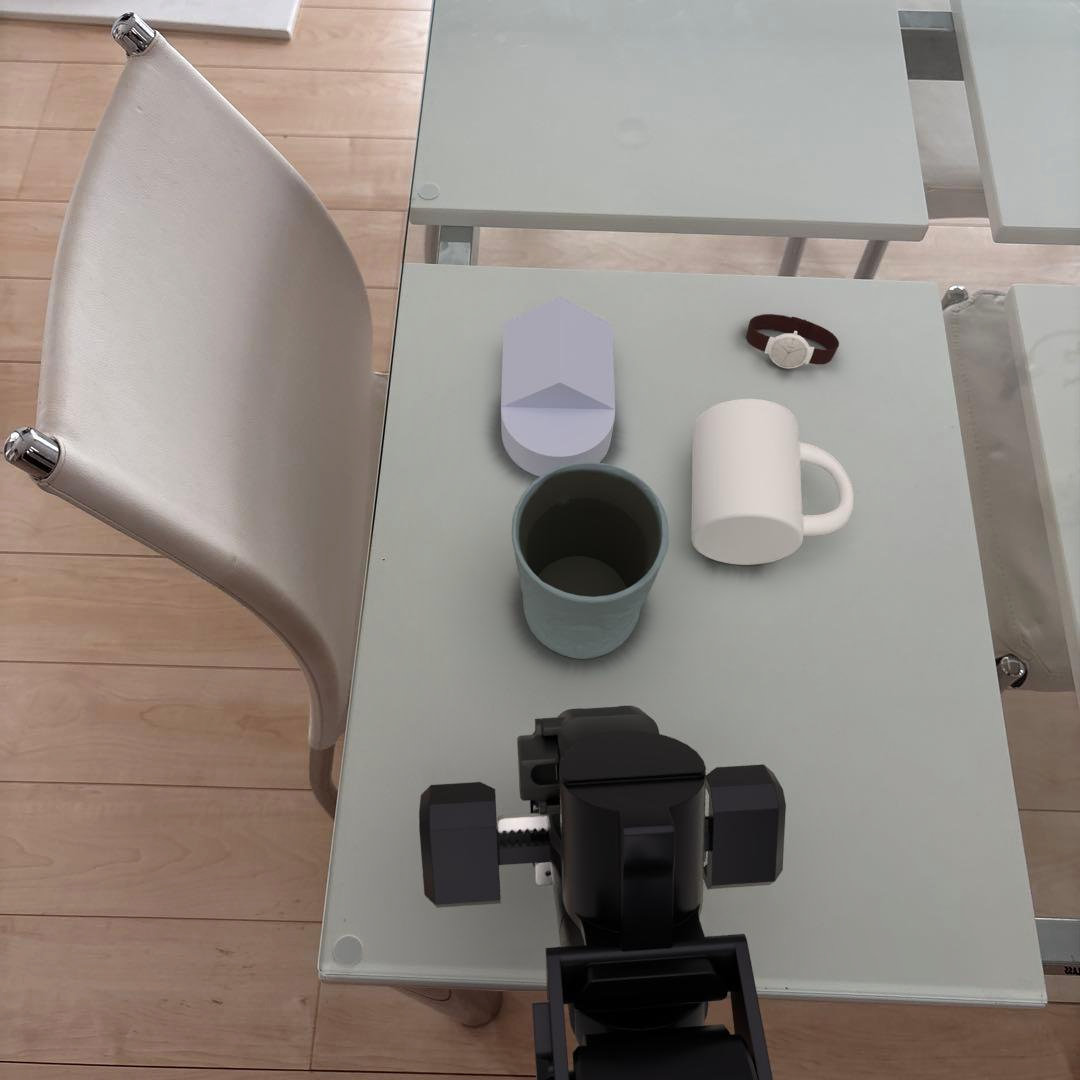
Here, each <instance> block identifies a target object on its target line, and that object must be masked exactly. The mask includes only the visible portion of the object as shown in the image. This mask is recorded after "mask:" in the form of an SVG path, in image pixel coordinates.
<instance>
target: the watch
mask: <svg viewBox="0 0 1080 1080" xmlns="http://www.w3.org/2000/svg"><path fill="white" fill-rule="evenodd" d="M761 330H769V331H776V332H777V331H778V332H782V334H779V335H777V336H775V337H774V336H771V335H766V334H764V333H761V332H759V331H761ZM806 339H807V340H809V341H812V342H814V343H817V345H820V346H821V347H823V348H824V349H820V348H815V347H814V346H810V344H809V342H808V341H807V340H806ZM745 340H746V342H747V344H748V345H750V346H751V347H753V348H755V349H757V350H758V351H761V352H764V354H766V355H769V358H770V360H771V361H772V363H774V364H775V365H776V366H778V367H780V368H782V369H783V368H784V369H795V368H798V367H800V366H802V365H804V364H805V365H807V366H808V365H809V364H811V365H827V364H829V363H830V362H831V361H832V360H833V358H834V356H835V354H836V352H837V350H838V348H839V347H840V341H839V339H838V338H837V336H836V335H835V334H834V333H833V332H831V331H830V330H828V329H827V328H825V327H823V326H821V325H818V324H816V323H814V322H811V321H809V320H807V319H803V318H800V317H798V316H787V315H783V314H774V313H766V314H765V313H764V314H763V313H762V314H758V315H755V316H753V317H752V318H751V319H750V320H749V322H748V327H747V331H746V335H745Z"/></svg>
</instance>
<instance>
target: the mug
mask: <svg viewBox="0 0 1080 1080" xmlns="http://www.w3.org/2000/svg"><path fill="white" fill-rule="evenodd" d="M799 428H800V427H799V422H798V420H797V418H796V416H795V415H794V414H793V412H792V411H790V410H789V409H788V408H787V407H785V406H783V405H782V404H779V403H777V402H773V401H771V400H766V399H760V398H738V399H731V400H726V401H723V402H720V403H717V404H714V405H713V406H711V407H709V408H708V409H706V410H705V411H703V412H702V413H701V414H700V415H699V416H698V417H697V418H696V420H695V421H694V424H693V427H692V459H691V461H692V462H691V463H692V464H691V465H692V466H691V467H692V468H691V470H692V471H691V472H692V473H691V526H690V527H691V528H690V529H691V530H690V532H691V533H690V539H691V543H692V545H693V546H694V548H695V550H696V551H697V552H698V553H700V554H701V555H703V556H704V557H706V558H709V559H711V560H713V561H716V562H721V563H724V564H729V565H738V566H739V565H740V566H741V565H743V566H745V565H746V566H749V565H750V566H751V565H762V564H768V563H769V564H770V563H772V562H777V561H779V560H782V559H785V558H787V557H788V556H791V555H793V554H794V553H795V552H796V551H798V549H799V548H800V547H801V545H802V544H803V542H804V537H805V536H806V537H809V536H810V537H813V536H814V537H815V536H823V535H828V534H831V533H834V532H837V531H838V530H840V529H841V528H843V527H844V526H845V525H846V524H847V523H848V521H849V520H850V518H851V516H852V514H853V511H854V505H855V494H854V488H853V485H852V481H851V479H850V477H849V474H848V473H847V471H846V470H845V468H844V467H843V465H842V464H841V463H840V462H839V461H838V460H837V459H836V457H834V456H833V455H832V454H830V453H829V452H828V451H826V450H825V449H823V448H821V447H819V446H816V445H813V444H810V443H808V442H802V441H801V440H800V429H799ZM801 463H805V464H809V465H813V466H817V467H818V468H821V469H823V470H824V471H826V472H827V473H828V474H829V475H830V476H831V478H832V479H833V480H834V483H835V486H836V489H837V494H838V505H837V507H836V508H835V509H833V510H831V511H829V512H826V513H821V514H810V515H808V514H806V515H805V514H803V498H802V497H803V495H802V475H801Z"/></svg>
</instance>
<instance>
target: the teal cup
mask: <svg viewBox="0 0 1080 1080" xmlns="http://www.w3.org/2000/svg"><path fill="white" fill-rule="evenodd" d="M667 516H668V515H667V513H666V510H665V507H664V506H663V503H662V502H661V500H660V498H659V497H658V496H657V494H655V492H654V490H653V489H652V488H651V487H650V486H649V485H648V484H647V483H645V481H644V480H643V479H641V478H640V477H638V475H636V474H634V473H632V472H630V471H628V470H626V469H624V468H621V467H619V466H616V465H614V464H609V463H603V462H600V463H599V462H578V463H571V464H567V465H563V466H560V467H558V468H555V469H553V470H550V471H548V472H546V473H545V474H543V475H542V476H540V477H539V476H538V478H536V479H535V480H534V481H533V482H531V484H530V485H529V486H528V487H527V488H526V489H525V490H524V492H523V493H522V495H521V496H520V498H519V500H518V502H517V503H516V505H515V508H514V511H513V515H512V521H511V522H512V523H511V539H512V540H511V541H512V546H513V551H514V557H515V563H516V568H517V571H518V575H519V581H520V590H521V592H522V606H523V613H524V617H525V620H526V624H527V626H528V627H529V630H530V632H531V633H532V634H533V636H535V638H536V640H537V641H539V643H541V644H542V645H543V646H544V647H547V648H548V649H549V650H551V651H553V652H554V653H556V654H559V655H561V656H563V657H569V658H571V659H577V660H587V659H594V658H599V657H603V656H605V655H607V654H609V653H611V652H613V651H614V650H616V649H617V648H619V647H620V646H622V645H623V644H624V643H625V642H626V640H628V638H629V637H630V636H631V634H632V632H633V631H634V629H635V627H636V625H637V623H638V621H639V617H640V612H641V609H642V606H643V605H644V604H645V603H646V601H647V599H648V596H649V593H650V591H651V590H652V587H653V586H654V583H655V581H656V578H657V577H658V573H659V571H660V569H661V567H662V564H663V562H664V559H665V557H666V555H667V552H668V548H669V541H670V540H669V539H670V538H669V534H670V532H669V531H670V530H669V522H668V517H667Z"/></svg>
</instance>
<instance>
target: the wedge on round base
mask: <svg viewBox="0 0 1080 1080" xmlns="http://www.w3.org/2000/svg"><path fill="white" fill-rule="evenodd" d="M613 327H614V326H613V324H612V323H611V322H609V321H607V320H605V319H603V318H601V317H600V316H598V315H596V314H594V313H592V312H591V311H589V310H587V309H585V308H584V307H582V306H580V305H578V304H576V303H574V302H572V301H570V300H569V299H567V298H565V297H563V296H562V295H558V296H556V297H554V298H552V299H550V300H547V301H545V302H543V303H541V304H539V305H536V306H534V307H532V308H530V309H529V310H527V311H524V312H522V313H520V314H518V315H516V316H513V317H512V318H510V319H508V320H506V321H503V330H502V331H503V333H502V339H503V340H502V361H501V362H502V365H501V391H500V393H501V395H500V398H501V399H500V424H501V425H500V426H501V427H500V428H501V430H500V431H501V432H500V433H501V439H502V444H503V447H504V450H505V451H506V453H507V455H508V457H509V458H510V459H511V460H512V461H513V462H514V463H515V464H516V465H517V466H518V467H519V468H521V469H522V470H523V471H525V472H527V473H529V474H531V475H533V476H535V477H538V478H539V477H540V476H542V475H543V474H545V473H546V472H548V471H550V470H553V469H555V468H558V467H560V466H563V465H567V464H571V463H578V462H599V463H602V461H603V459H604V458H605V457H606V456H607V453H608V452H609V448H610V446H611V443H612V442H611V441H612V437H613V431H614V425H615V419H616V388H615V359H614V356H615V355H614V331H613V330H614V328H613Z"/></svg>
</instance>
